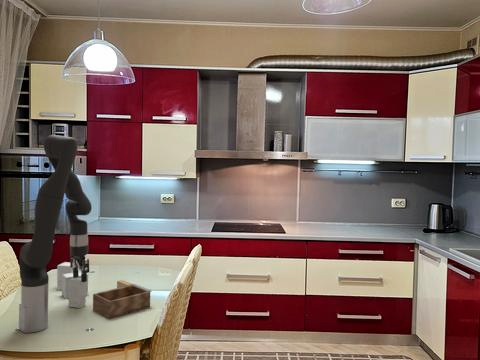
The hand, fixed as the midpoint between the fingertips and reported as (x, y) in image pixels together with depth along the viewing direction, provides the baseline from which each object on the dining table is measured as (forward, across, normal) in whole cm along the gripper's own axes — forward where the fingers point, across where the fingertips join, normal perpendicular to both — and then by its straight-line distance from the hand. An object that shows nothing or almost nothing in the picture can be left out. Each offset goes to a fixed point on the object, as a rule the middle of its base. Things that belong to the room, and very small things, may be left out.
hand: (79, 279), depth 174 cm
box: (+12, -16, -12) cm, 23 cm away
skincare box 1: (+12, +15, -4) cm, 20 cm away
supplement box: (+12, +28, -6) cm, 31 cm away
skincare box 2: (+12, 0, +2) cm, 12 cm away
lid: (+13, +4, -24) cm, 28 cm away
